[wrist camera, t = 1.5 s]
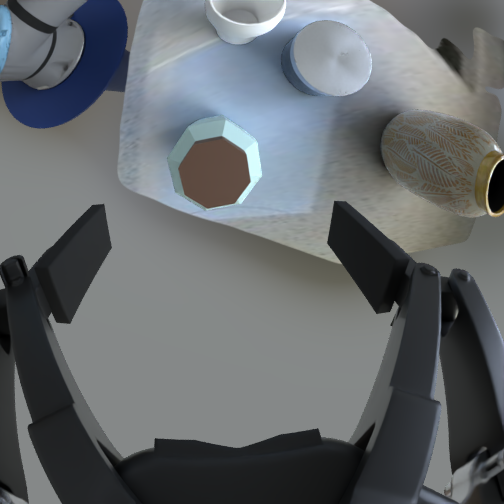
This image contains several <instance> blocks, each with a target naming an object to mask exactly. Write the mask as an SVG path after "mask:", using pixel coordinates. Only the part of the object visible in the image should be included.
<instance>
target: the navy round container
mask: <svg viewBox="0 0 504 504" xmlns="http://www.w3.org/2000/svg"><path fill="white" fill-rule="evenodd" d="M281 65H282V69H283V72H284V74H285V76H286V78H287V79H288V81H289V82H290V83H291V84H292V85H293V86H294V87H295V88H297V89H298V90H300V91H302V92H304V93H306V94H310V95H316V96H321V95H328V96H346V95H350V94H353V93H355V92H357V91H358V90H360V89H361V88H362V87H363V86H364V85H365V84H366V82H367V81H368V79H369V77H370V74H371V68H372V61H371V55H370V52H369V49H368V47H367V45H366V43H365V42H364V41H363V39H362V38H361V37H360V36H359V35H358V34H357V33H356V32H355V31H354V30H353V29H351V28H350V27H348V26H346V25H344V24H342V23H339V22H335V21H328V20H324V21H317V22H314V23H311V24H309V25H307V26H306V27H304V28H303V29H302V30H301V31H299V32H298V34H297V35H296V36H295V37H294V38H292V39H291V40H290V41H289V42H288V43H287V44H286V46H285V47H284V49H283V52H282V56H281Z"/></svg>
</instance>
